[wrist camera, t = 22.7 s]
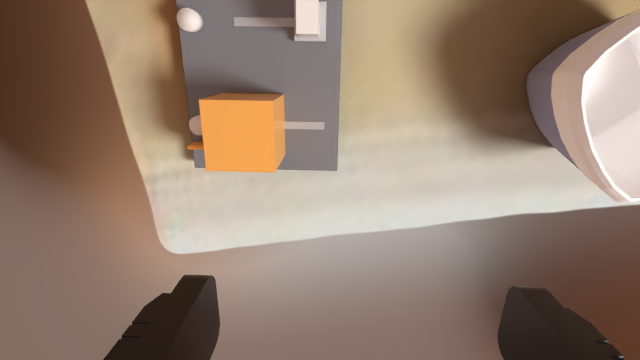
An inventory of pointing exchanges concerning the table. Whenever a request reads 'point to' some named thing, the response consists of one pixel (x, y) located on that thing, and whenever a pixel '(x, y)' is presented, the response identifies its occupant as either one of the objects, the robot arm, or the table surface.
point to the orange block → (243, 132)
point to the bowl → (594, 104)
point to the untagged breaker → (310, 20)
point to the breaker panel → (265, 71)
